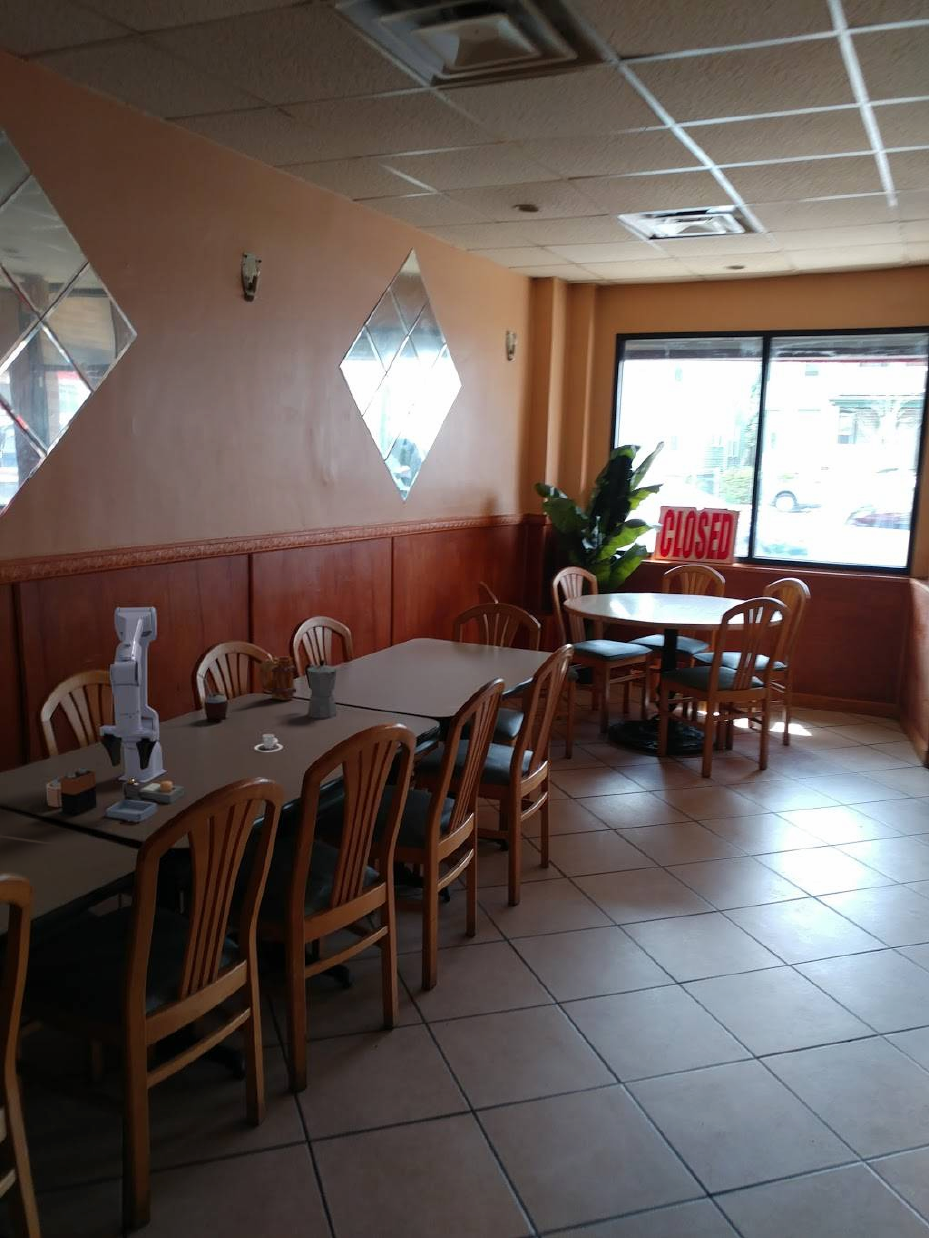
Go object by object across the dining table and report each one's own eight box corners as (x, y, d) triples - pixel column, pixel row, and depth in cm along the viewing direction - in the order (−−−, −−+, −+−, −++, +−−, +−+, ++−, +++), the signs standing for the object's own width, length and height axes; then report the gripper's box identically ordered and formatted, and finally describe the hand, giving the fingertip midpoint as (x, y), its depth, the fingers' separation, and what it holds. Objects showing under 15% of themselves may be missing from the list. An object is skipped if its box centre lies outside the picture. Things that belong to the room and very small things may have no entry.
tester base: (184, 794, 231) (184, 785, 230) (170, 803, 225) (170, 794, 224) (152, 790, 233) (151, 781, 232) (137, 798, 227) (137, 790, 227)
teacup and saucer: (269, 742, 273) (269, 728, 272) (290, 747, 269) (290, 733, 268) (248, 750, 266) (247, 736, 265) (269, 755, 262) (269, 741, 261)
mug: (285, 694, 324) (284, 651, 321) (301, 698, 319) (301, 655, 316) (252, 703, 312) (251, 658, 309) (269, 707, 307) (268, 662, 305)
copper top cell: (129, 799, 227) (128, 776, 225) (144, 801, 226) (143, 777, 224) (119, 805, 223) (118, 781, 222) (134, 807, 222) (133, 783, 221)
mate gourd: (231, 721, 291) (230, 674, 289) (207, 725, 287) (205, 677, 284) (222, 715, 297) (220, 669, 295) (198, 719, 293) (196, 672, 290)
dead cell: (61, 797, 226) (59, 773, 225) (75, 799, 225) (73, 775, 224) (49, 803, 222) (48, 779, 221) (64, 805, 221) (62, 781, 220)
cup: (60, 797, 227) (59, 777, 226) (83, 800, 226) (81, 780, 225) (42, 806, 221) (40, 786, 220) (65, 809, 220) (64, 789, 219)
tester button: (164, 792, 230) (164, 780, 229) (174, 793, 229) (174, 781, 229) (158, 796, 227) (157, 784, 227) (168, 797, 227) (167, 785, 226)
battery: (97, 808, 221) (95, 767, 219) (75, 818, 215) (73, 777, 213) (83, 805, 223) (81, 765, 221) (61, 815, 217) (58, 774, 215)
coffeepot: (346, 716, 299) (346, 661, 295) (322, 722, 292) (321, 665, 289) (318, 706, 310) (317, 653, 306) (294, 711, 303) (293, 657, 300)
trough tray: (124, 807, 222) (123, 799, 222) (157, 811, 220) (157, 803, 219) (105, 818, 215) (105, 809, 215) (139, 822, 213) (139, 814, 213)
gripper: (90, 713, 218) (93, 768, 221) (144, 718, 214) (147, 775, 217) (108, 705, 225) (111, 759, 227) (162, 710, 221) (164, 765, 224)
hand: (130, 766), depth 222 cm, fingers open, 7 cm apart
